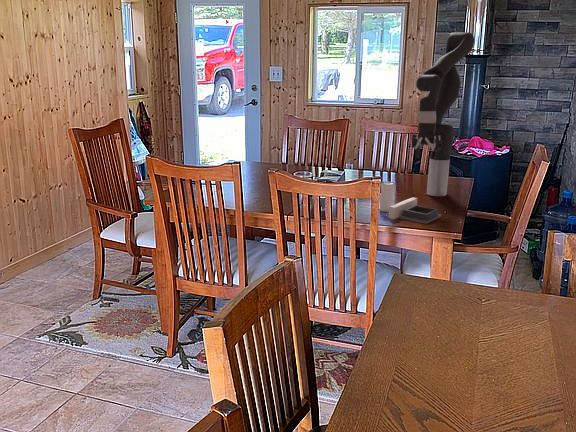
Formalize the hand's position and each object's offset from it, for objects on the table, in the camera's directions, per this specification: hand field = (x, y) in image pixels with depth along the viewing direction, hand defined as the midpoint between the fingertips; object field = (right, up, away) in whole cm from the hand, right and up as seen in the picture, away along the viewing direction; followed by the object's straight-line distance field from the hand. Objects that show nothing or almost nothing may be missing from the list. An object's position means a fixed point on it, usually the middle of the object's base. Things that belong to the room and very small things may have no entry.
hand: (425, 158), depth 255 cm
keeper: (-7, -26, -19) cm, 33 cm away
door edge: (-13, -25, -15) cm, 32 cm away
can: (-19, -23, -10) cm, 32 cm away
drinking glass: (-47, -23, -9) cm, 53 cm away
